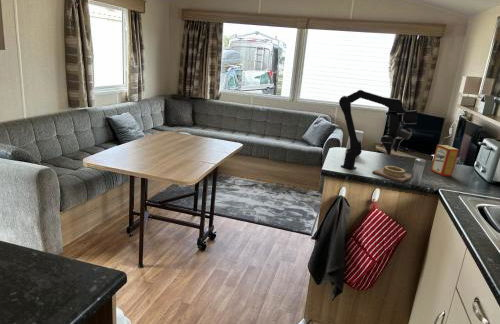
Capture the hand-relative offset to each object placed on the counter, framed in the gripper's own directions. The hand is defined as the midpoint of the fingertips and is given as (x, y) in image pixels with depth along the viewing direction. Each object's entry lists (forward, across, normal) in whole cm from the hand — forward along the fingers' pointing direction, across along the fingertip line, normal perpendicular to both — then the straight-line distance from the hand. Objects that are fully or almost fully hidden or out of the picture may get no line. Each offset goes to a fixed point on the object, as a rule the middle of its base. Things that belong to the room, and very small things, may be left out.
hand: (392, 153), depth 191 cm
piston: (+14, -4, -13) cm, 19 cm away
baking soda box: (+16, +35, -16) cm, 42 cm away
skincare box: (+9, +20, +32) cm, 39 cm away
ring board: (+12, +1, -1) cm, 12 cm away
